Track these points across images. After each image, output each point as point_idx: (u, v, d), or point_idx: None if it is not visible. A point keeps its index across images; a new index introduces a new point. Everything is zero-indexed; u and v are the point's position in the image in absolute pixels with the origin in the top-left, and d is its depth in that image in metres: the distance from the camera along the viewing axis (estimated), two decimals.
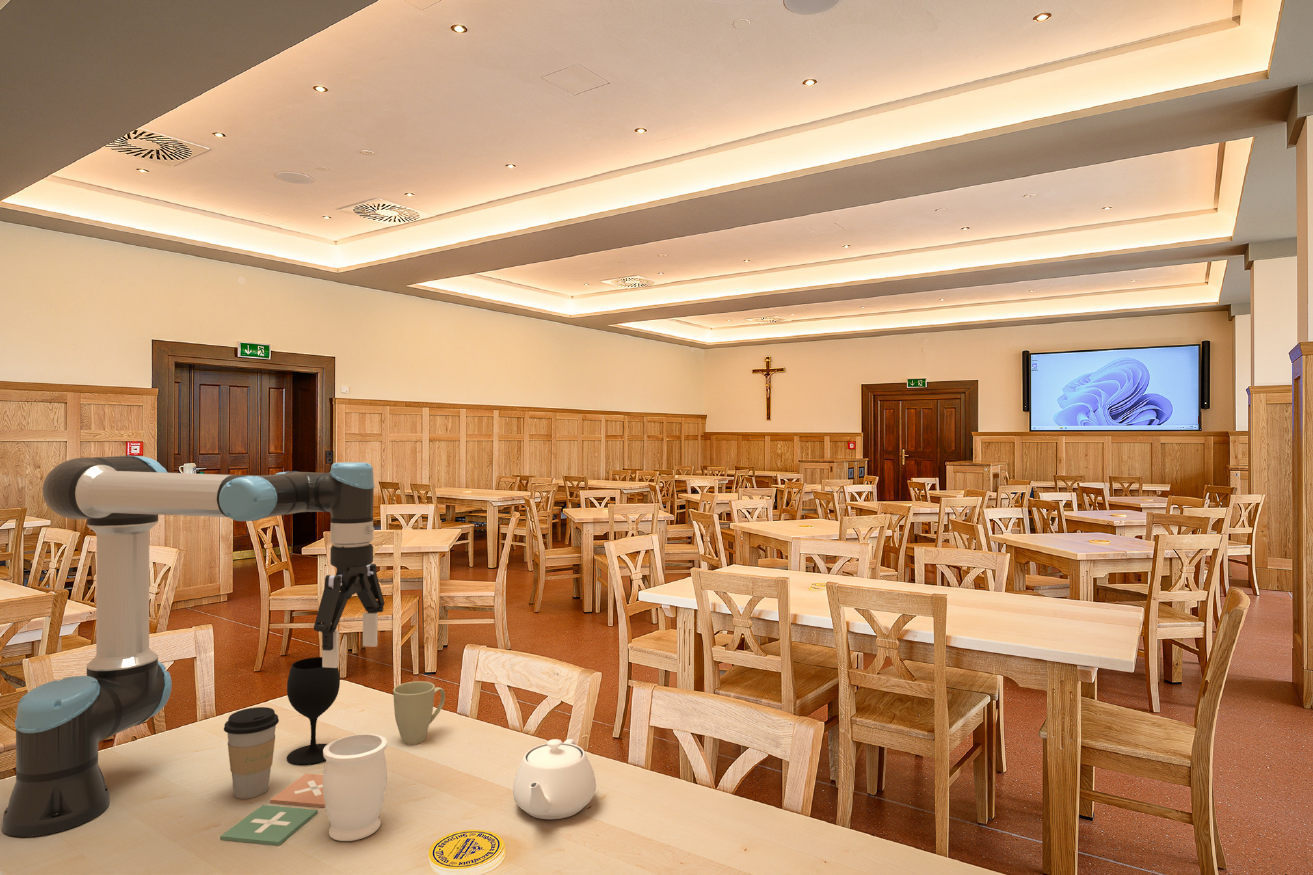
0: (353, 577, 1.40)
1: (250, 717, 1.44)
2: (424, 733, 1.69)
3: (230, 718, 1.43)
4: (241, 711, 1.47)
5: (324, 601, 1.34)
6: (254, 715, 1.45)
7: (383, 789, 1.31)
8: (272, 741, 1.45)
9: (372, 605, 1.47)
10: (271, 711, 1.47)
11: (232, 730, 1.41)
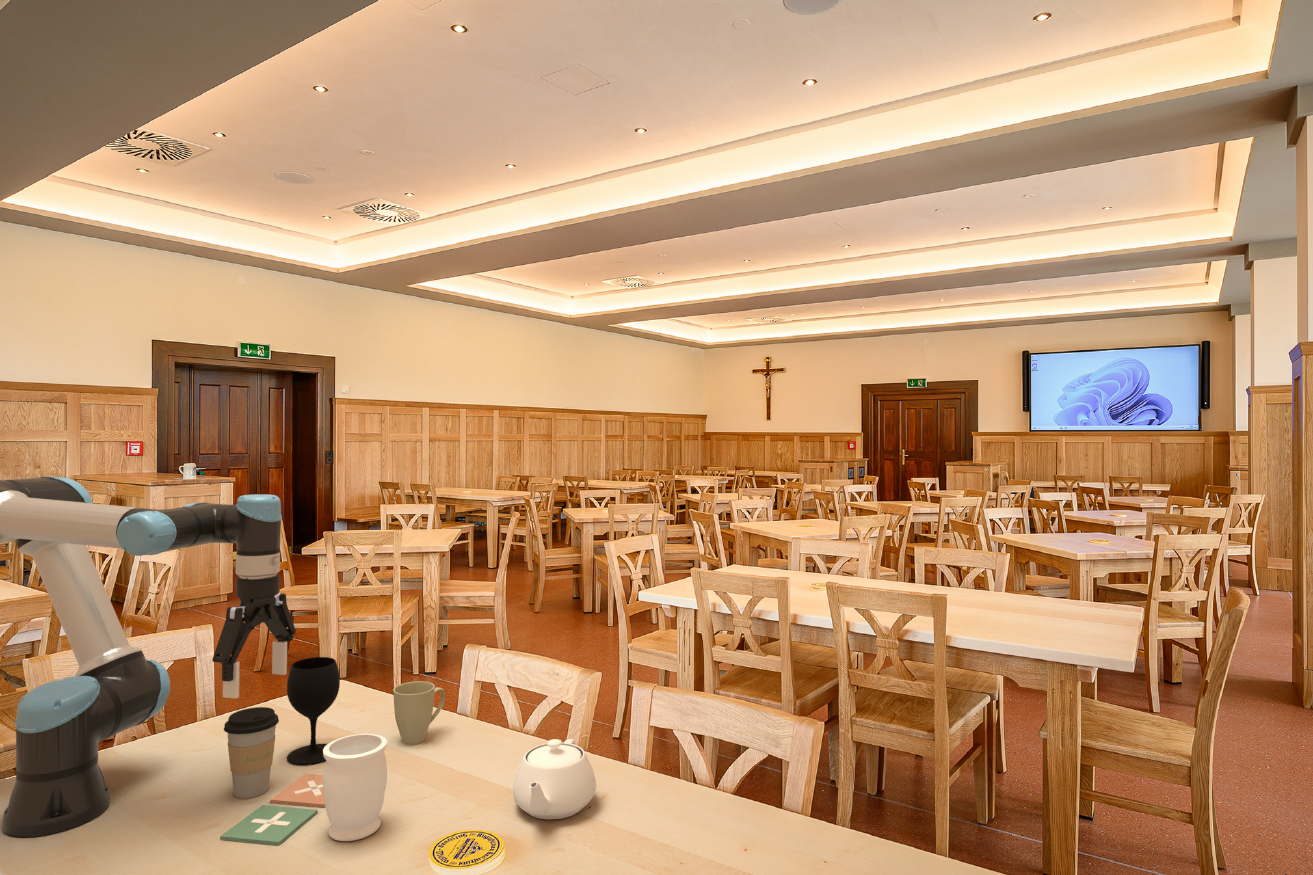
0: (258, 608, 1.42)
1: (250, 717, 1.44)
2: (424, 733, 1.69)
3: (230, 718, 1.43)
4: (241, 711, 1.47)
5: (224, 633, 1.36)
6: (254, 715, 1.45)
7: (383, 789, 1.31)
8: (272, 741, 1.45)
9: (281, 634, 1.50)
10: (271, 711, 1.47)
11: (232, 730, 1.41)
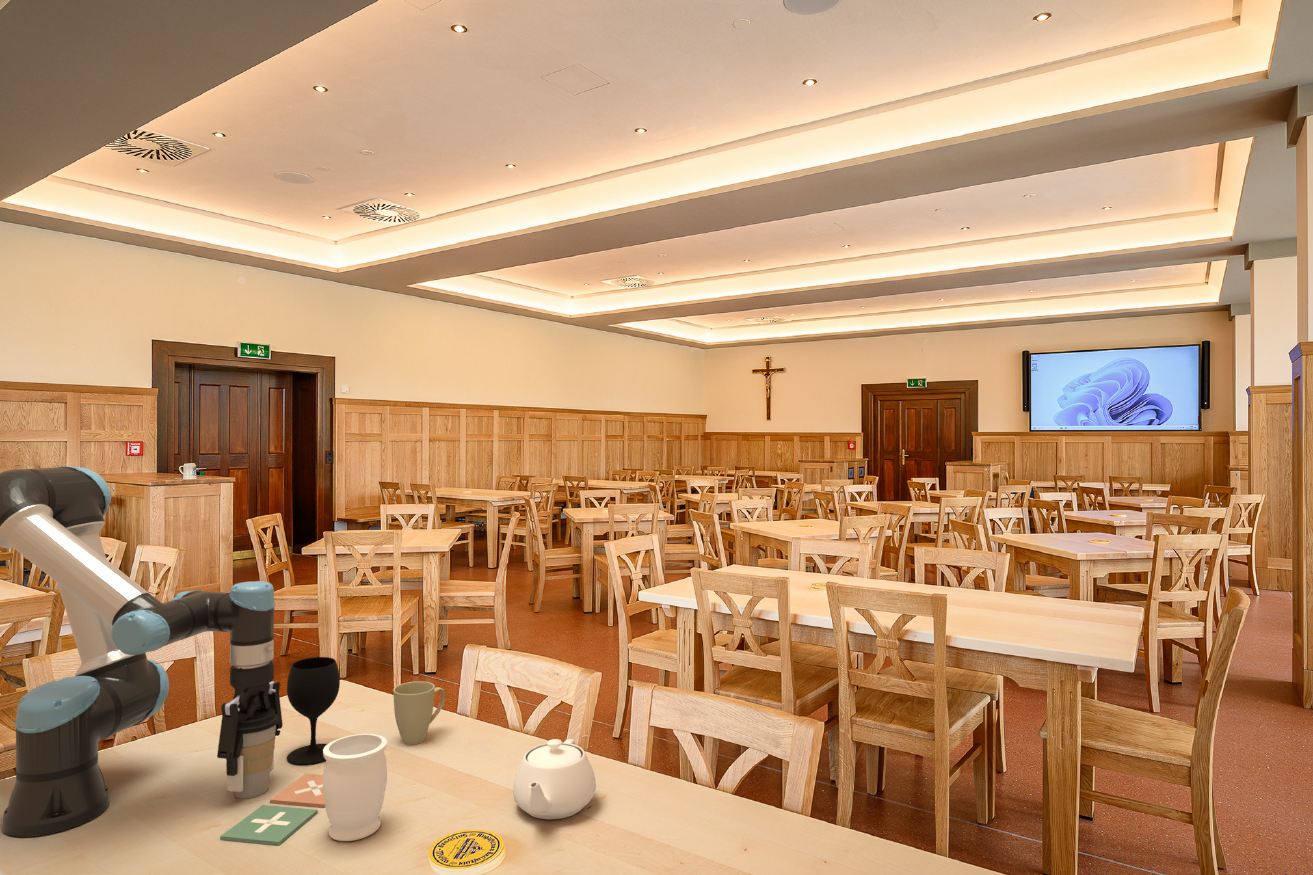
0: (252, 698, 1.43)
1: None
2: (424, 733, 1.69)
3: None
4: None
5: (223, 729, 1.38)
6: (254, 715, 1.45)
7: (383, 789, 1.31)
8: (272, 741, 1.45)
9: None
10: (272, 711, 1.47)
11: None
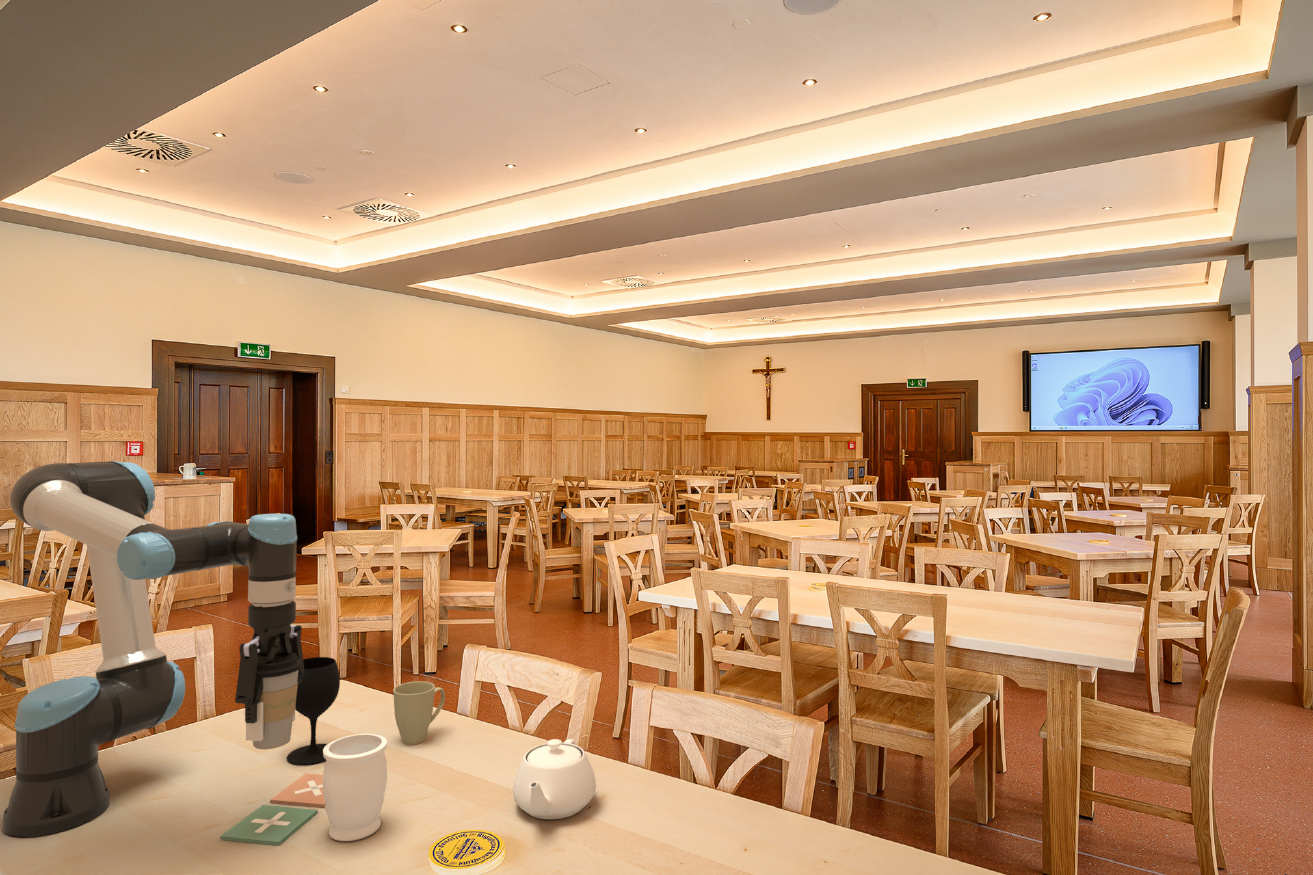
0: (272, 639, 1.31)
1: None
2: (424, 733, 1.69)
3: None
4: None
5: (242, 672, 1.26)
6: (275, 659, 1.32)
7: (383, 789, 1.31)
8: (295, 687, 1.33)
9: None
10: (294, 655, 1.34)
11: None
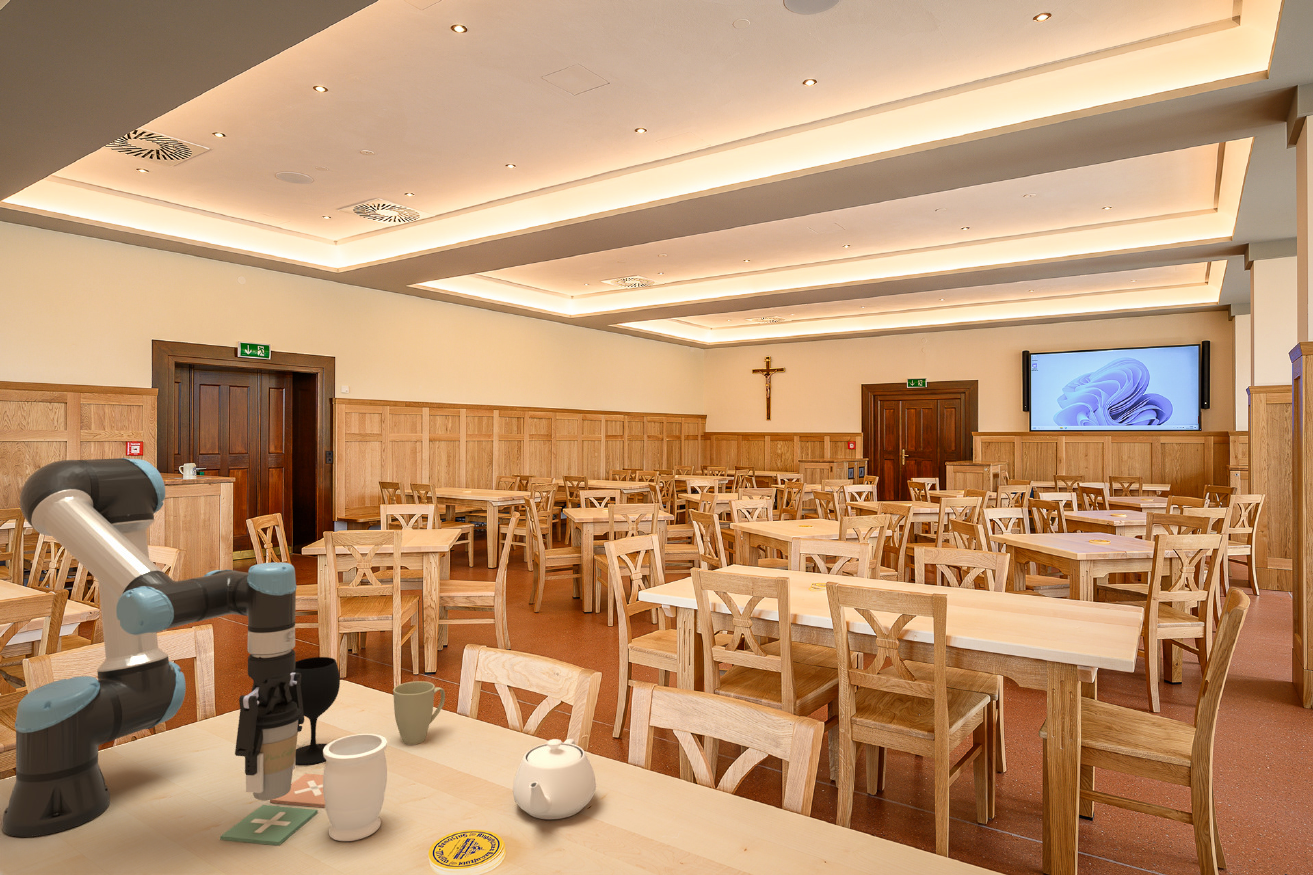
0: (272, 689, 1.31)
1: None
2: (424, 733, 1.69)
3: None
4: None
5: (242, 724, 1.26)
6: (274, 709, 1.32)
7: (383, 789, 1.31)
8: (295, 737, 1.32)
9: None
10: (294, 704, 1.34)
11: None
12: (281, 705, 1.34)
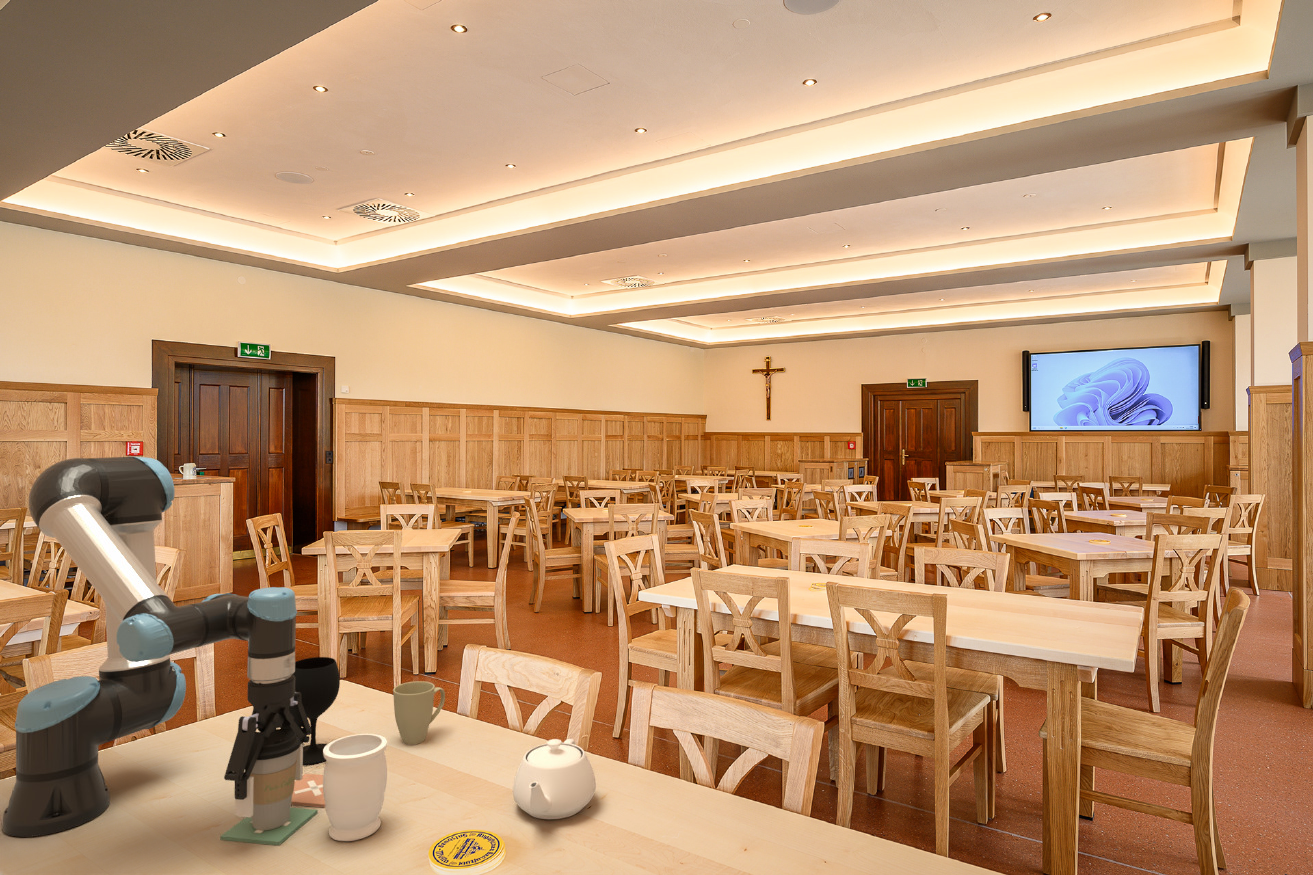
0: (272, 714, 1.31)
1: (270, 741, 1.31)
2: (424, 733, 1.69)
3: None
4: None
5: (237, 746, 1.25)
6: (274, 738, 1.32)
7: (383, 789, 1.31)
8: (294, 767, 1.33)
9: None
10: (293, 733, 1.34)
11: None
12: (280, 734, 1.34)
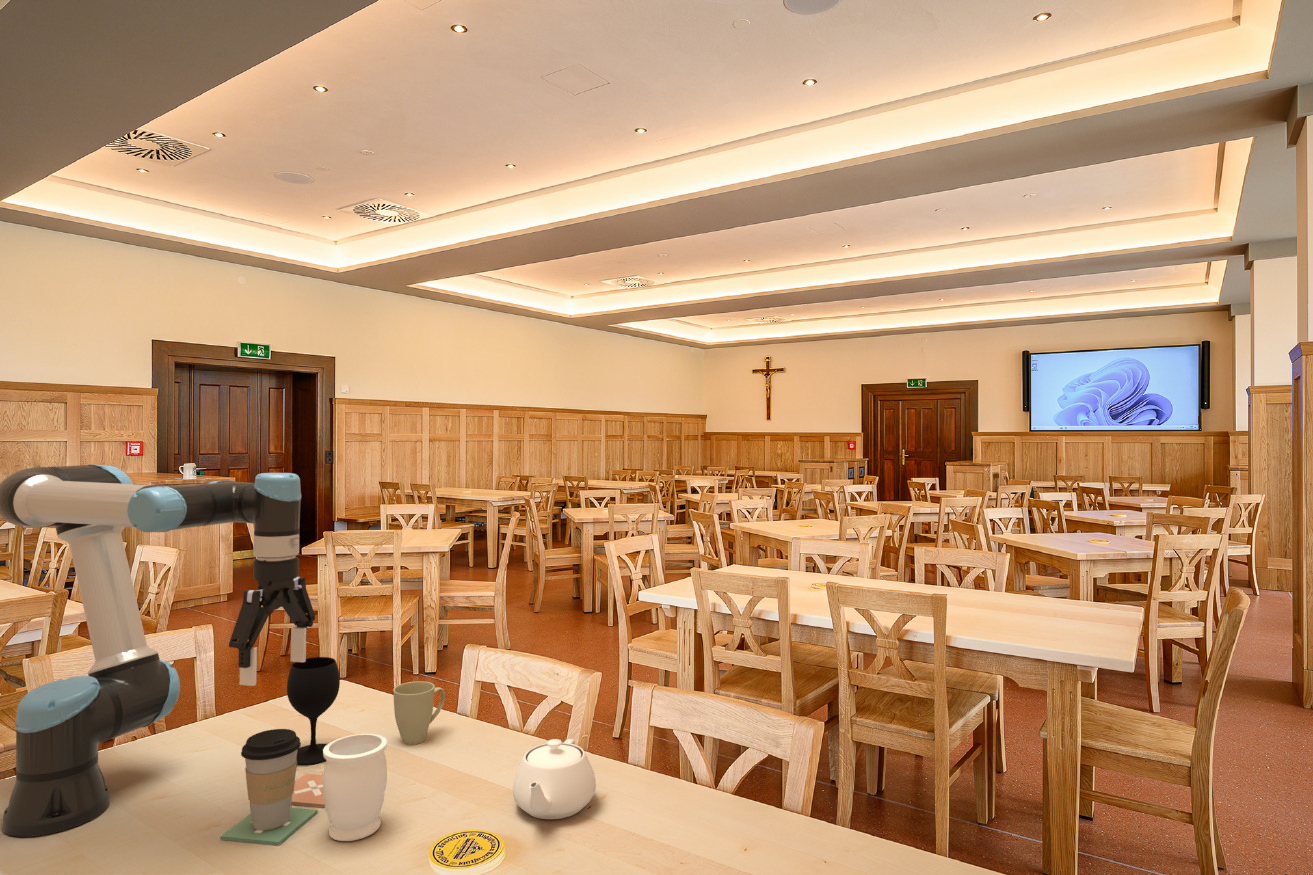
0: (276, 592, 1.35)
1: (270, 741, 1.31)
2: (424, 733, 1.69)
3: (248, 742, 1.30)
4: (259, 734, 1.34)
5: (241, 617, 1.29)
6: (274, 738, 1.32)
7: (383, 789, 1.31)
8: (294, 767, 1.33)
9: (300, 620, 1.43)
10: (293, 733, 1.34)
11: (251, 755, 1.28)
12: (280, 734, 1.34)
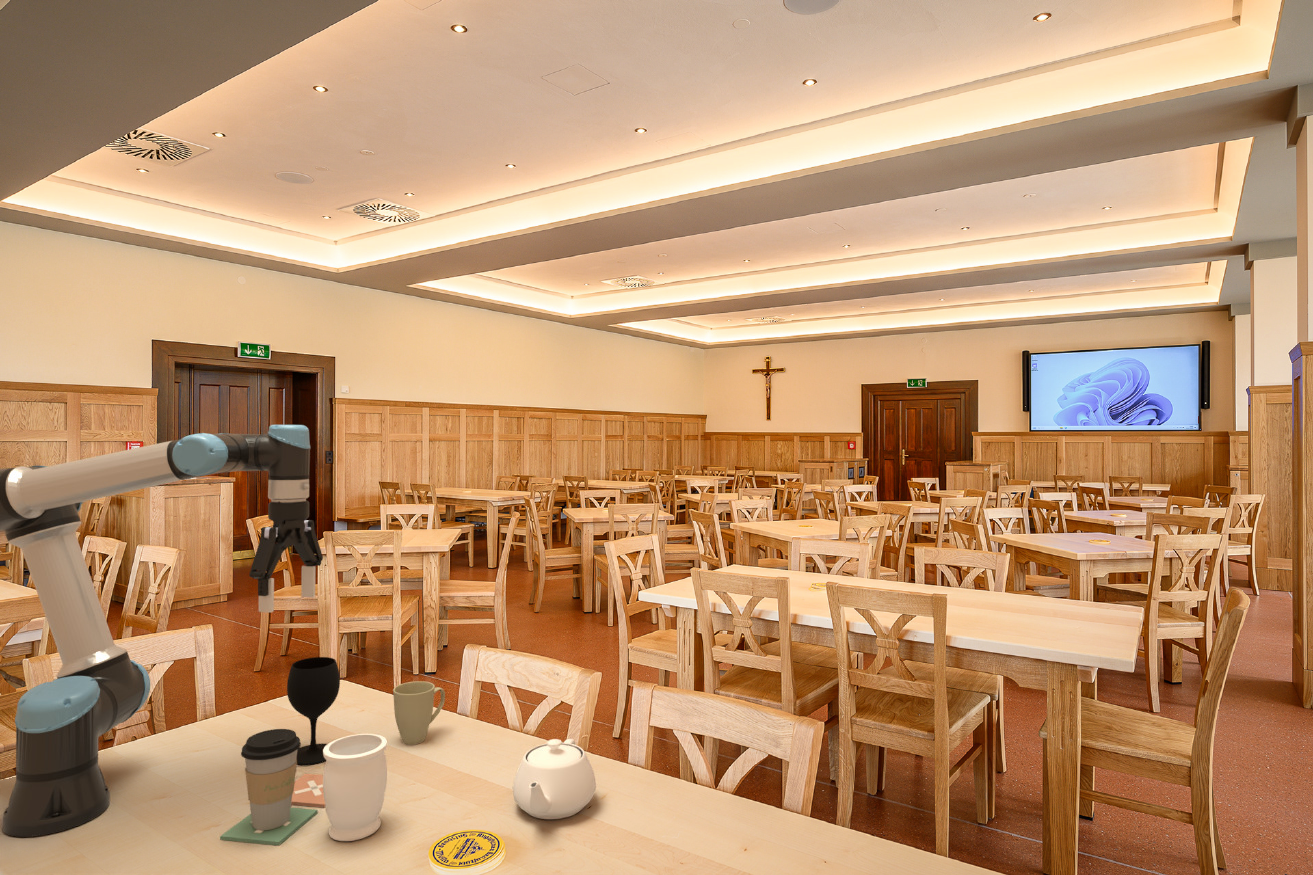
0: (289, 530, 1.51)
1: (270, 741, 1.31)
2: (424, 733, 1.69)
3: (248, 742, 1.30)
4: (259, 734, 1.34)
5: (260, 550, 1.45)
6: (274, 738, 1.32)
7: (383, 789, 1.31)
8: (294, 767, 1.33)
9: (310, 559, 1.59)
10: (293, 733, 1.34)
11: (251, 755, 1.28)
12: (280, 734, 1.34)
